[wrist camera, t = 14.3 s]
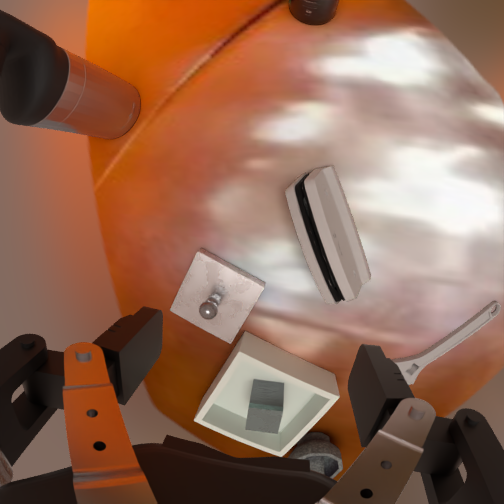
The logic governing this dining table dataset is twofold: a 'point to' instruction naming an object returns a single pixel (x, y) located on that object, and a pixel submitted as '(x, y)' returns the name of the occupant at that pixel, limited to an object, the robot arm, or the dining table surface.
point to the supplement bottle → (313, 10)
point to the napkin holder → (328, 234)
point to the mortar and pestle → (319, 454)
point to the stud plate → (225, 287)
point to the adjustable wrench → (445, 344)
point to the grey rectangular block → (265, 406)
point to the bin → (270, 369)
